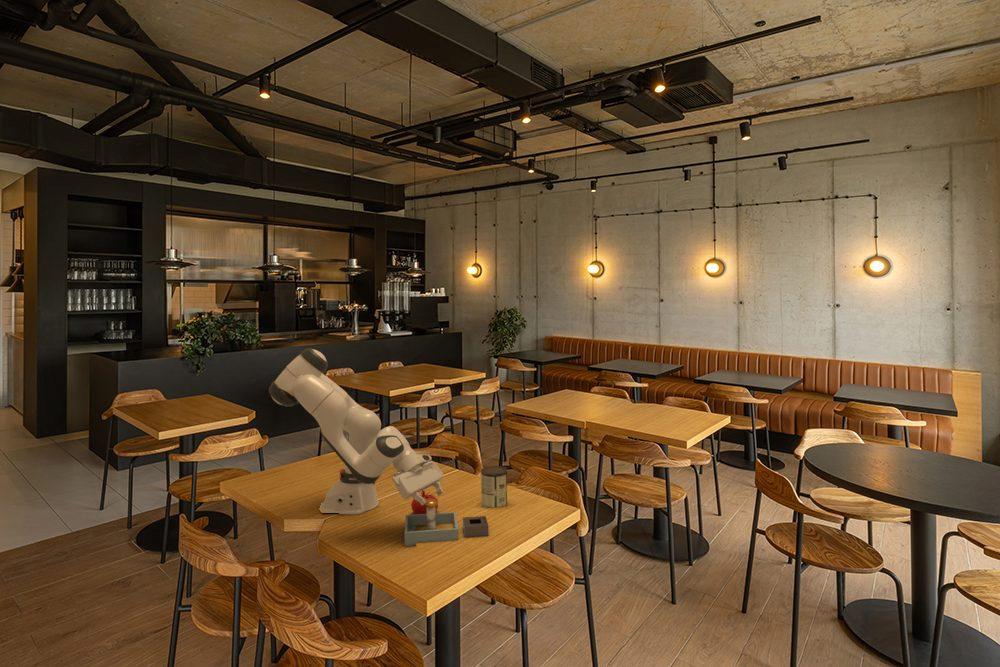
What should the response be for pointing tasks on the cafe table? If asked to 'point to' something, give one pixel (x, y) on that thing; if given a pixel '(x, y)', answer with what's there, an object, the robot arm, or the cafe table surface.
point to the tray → (429, 535)
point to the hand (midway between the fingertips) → (433, 498)
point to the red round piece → (420, 508)
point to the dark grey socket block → (475, 526)
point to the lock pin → (431, 513)
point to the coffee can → (494, 486)
